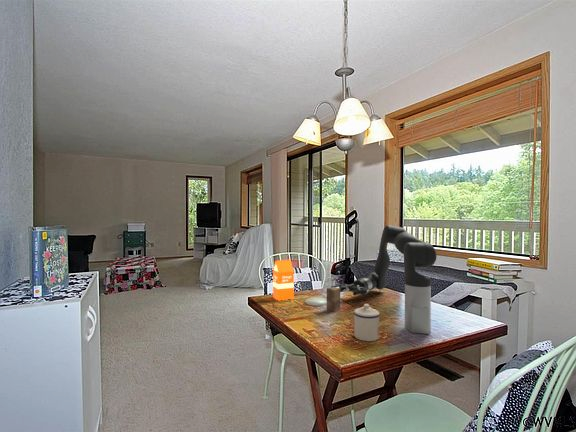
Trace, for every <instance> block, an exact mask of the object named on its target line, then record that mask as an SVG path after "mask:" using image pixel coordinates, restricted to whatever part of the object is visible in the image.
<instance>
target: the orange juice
mask: <svg viewBox="0 0 576 432" xmlns="http://www.w3.org/2000/svg"><path fill="white" fill-rule="evenodd" d="M294 272H295V271H294V268H293V263H292V260H291V259H281V260H280V259H279V260H275V261H274V265H273V269H272V294H273V295H272V298H273V299H275V300H276V301H277V300H278V301H277V302H281V300H282V301H289V300H288V299H291V300H295V299H294V298H295V297H294V295H295V292H294V291H295V290H294V289H295V279H294V278H295V276H294V275H295V273H294Z"/></svg>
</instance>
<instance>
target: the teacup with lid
mask: <svg viewBox="0 0 576 432" xmlns="http://www.w3.org/2000/svg"><path fill="white" fill-rule="evenodd" d="M380 316H381V314H380V311H378V310H377V309H375V308H372V307H371V306H370V304H368V303H364V304H363V306H361V307H358V308H355V309H354V311H353V317H354V320H353V321H354V322H353V323H354V326H353V327H354V328H353V329H354V331H353V332H354V333H353V334H354V335H353V336H354V337H355V338H356V339H357V340H359V341H364V342H375V341H377V340H379V338H380Z"/></svg>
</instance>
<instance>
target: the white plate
mask: <svg viewBox="0 0 576 432" xmlns="http://www.w3.org/2000/svg"><path fill="white" fill-rule="evenodd" d="M305 305H308V306H314V307H321V306H327V298H324V297H318V296H314V297H312V296H311V297H308V298H305Z"/></svg>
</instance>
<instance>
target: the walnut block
mask: <svg viewBox="0 0 576 432" xmlns="http://www.w3.org/2000/svg"><path fill="white" fill-rule="evenodd" d="M326 299H327V304H326V311H329V312H334V313H336V312H339V311H341V292H340V288H339V287H335V286H330V287H326Z"/></svg>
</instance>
